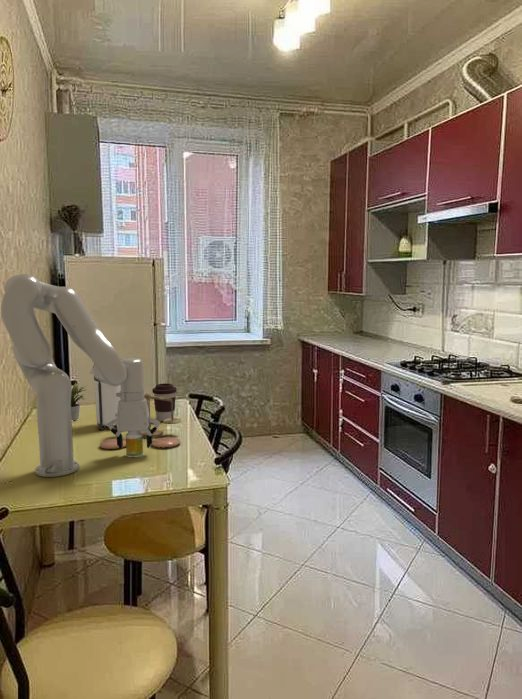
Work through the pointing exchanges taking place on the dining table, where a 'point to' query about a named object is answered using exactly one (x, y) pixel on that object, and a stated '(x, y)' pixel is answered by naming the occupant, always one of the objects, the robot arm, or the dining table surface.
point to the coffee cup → (164, 406)
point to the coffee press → (105, 402)
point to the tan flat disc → (166, 442)
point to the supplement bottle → (134, 444)
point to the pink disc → (111, 444)
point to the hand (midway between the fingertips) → (134, 446)
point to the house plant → (74, 406)
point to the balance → (167, 421)
